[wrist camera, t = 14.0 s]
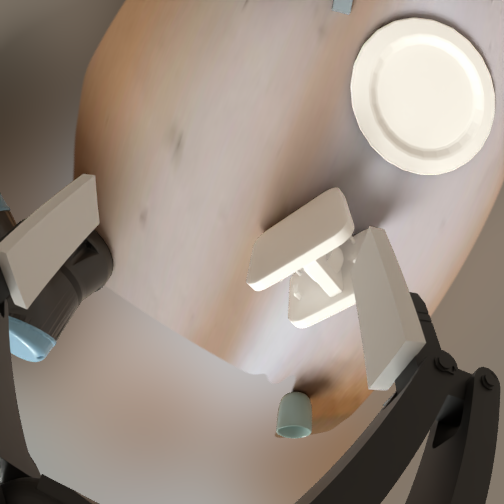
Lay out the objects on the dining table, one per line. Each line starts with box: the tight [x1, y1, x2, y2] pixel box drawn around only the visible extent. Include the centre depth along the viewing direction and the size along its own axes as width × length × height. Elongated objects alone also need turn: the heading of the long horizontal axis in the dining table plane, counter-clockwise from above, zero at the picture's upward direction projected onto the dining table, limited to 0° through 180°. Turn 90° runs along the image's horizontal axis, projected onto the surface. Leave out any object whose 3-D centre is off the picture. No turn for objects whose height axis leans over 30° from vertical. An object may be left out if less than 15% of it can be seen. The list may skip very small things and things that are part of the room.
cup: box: [276, 392, 312, 438], centre depth 66 cm, size 8×8×10 cm
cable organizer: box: [246, 187, 368, 328], centre depth 40 cm, size 15×11×12 cm
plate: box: [350, 17, 495, 175], centre depth 31 cm, size 21×21×2 cm
